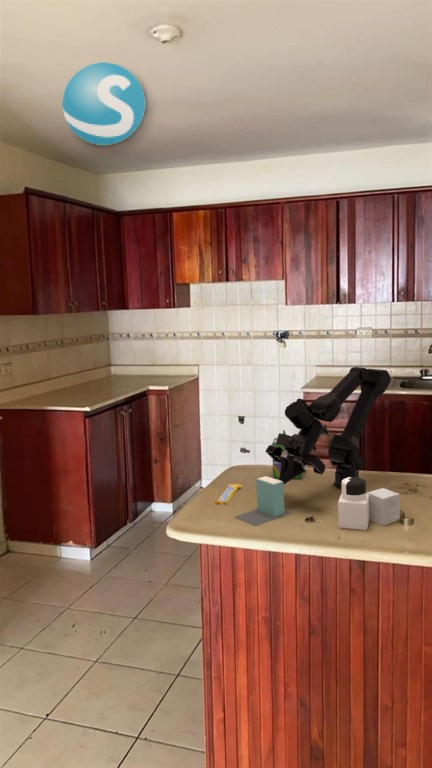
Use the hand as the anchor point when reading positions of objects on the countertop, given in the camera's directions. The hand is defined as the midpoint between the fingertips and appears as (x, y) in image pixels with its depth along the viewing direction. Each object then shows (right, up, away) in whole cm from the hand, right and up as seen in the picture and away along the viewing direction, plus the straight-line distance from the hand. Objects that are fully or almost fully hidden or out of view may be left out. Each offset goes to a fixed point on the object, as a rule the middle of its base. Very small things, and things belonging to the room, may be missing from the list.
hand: (280, 484), depth 170 cm
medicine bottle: (+18, -9, -11) cm, 23 cm away
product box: (+26, -8, -9) cm, 29 cm away
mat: (-5, -8, -3) cm, 10 cm away
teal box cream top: (-3, -7, -1) cm, 8 cm away
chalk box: (+6, -2, +32) cm, 33 cm away
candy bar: (-14, -7, +14) cm, 21 cm away
